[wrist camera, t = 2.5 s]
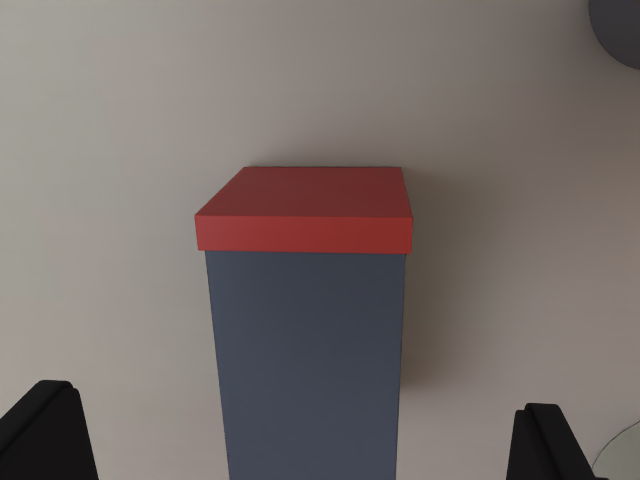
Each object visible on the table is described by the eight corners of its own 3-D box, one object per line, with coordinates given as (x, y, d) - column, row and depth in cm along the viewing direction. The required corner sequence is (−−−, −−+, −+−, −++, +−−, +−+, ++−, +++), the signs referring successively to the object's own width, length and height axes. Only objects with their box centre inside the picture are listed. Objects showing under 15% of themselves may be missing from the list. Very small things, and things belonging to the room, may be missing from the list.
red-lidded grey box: (392, 394, 25) (399, 506, 19) (259, 388, 26) (225, 495, 20) (400, 167, 21) (413, 217, 15) (243, 166, 22) (193, 215, 16)
